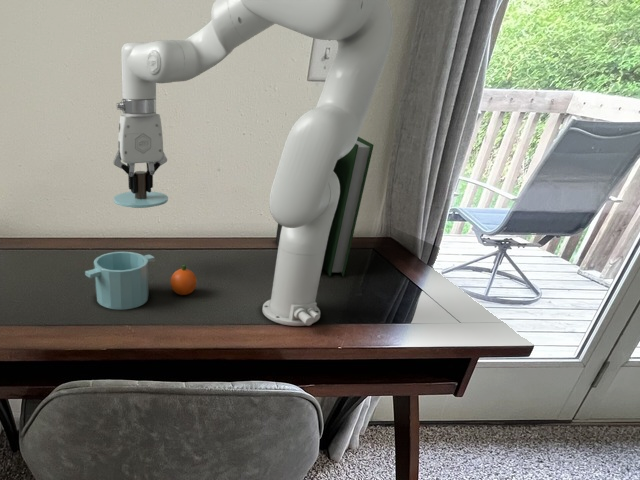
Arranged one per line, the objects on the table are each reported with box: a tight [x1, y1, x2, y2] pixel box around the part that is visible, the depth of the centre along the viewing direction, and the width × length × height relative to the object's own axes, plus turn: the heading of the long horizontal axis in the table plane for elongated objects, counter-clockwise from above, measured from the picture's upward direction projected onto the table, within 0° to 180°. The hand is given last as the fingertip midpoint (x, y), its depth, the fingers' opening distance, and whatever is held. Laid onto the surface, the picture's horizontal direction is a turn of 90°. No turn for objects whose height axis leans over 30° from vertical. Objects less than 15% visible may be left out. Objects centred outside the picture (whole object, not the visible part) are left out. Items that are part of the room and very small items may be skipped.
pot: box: [84, 251, 156, 311], centre depth 114 cm, size 13×18×10 cm
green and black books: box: [275, 136, 374, 277], centre depth 128 cm, size 27×15×32 cm, turn 176°
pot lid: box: [113, 170, 169, 209], centre depth 116 cm, size 14×14×7 cm
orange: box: [169, 264, 198, 296], centre depth 115 cm, size 6×6×8 cm
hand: (140, 191), depth 117 cm, fingers closed on pot lid, 3 cm apart
